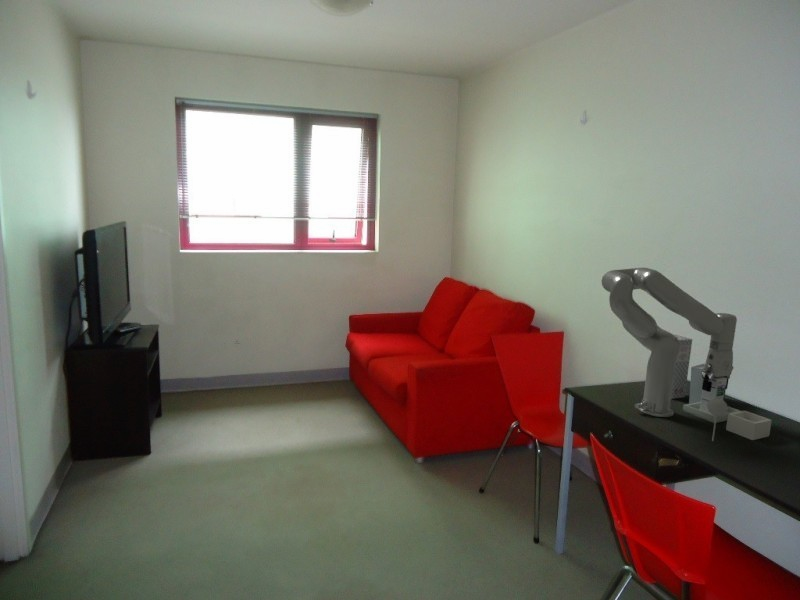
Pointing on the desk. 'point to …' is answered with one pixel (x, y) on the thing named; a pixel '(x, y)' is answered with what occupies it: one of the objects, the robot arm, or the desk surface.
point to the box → (681, 367)
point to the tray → (695, 410)
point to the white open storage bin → (748, 425)
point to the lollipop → (717, 410)
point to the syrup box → (713, 392)
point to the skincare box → (696, 383)
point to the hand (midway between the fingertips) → (714, 389)
